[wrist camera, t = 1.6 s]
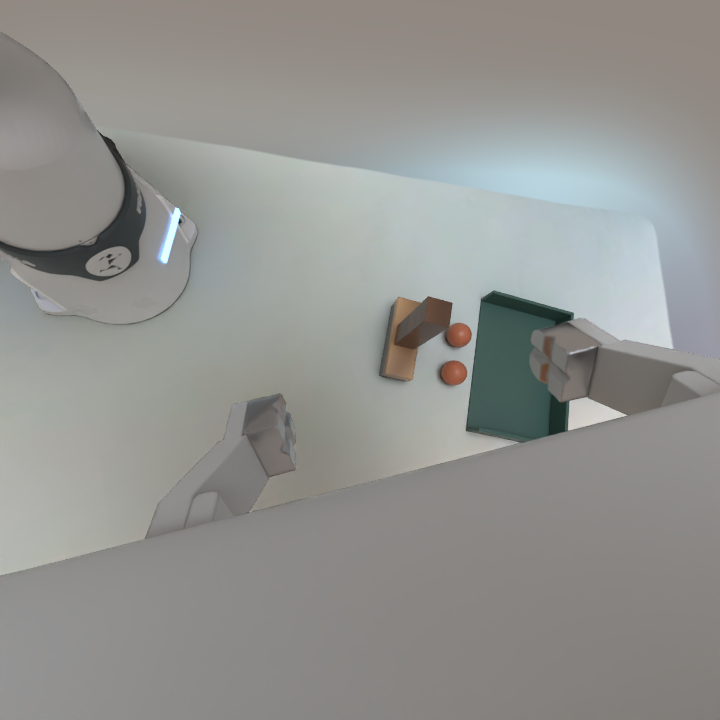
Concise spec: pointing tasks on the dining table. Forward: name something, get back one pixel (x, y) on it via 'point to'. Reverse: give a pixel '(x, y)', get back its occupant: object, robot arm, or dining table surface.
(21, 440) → the dining table surface
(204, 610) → the robot arm
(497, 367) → the dustpan
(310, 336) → the dining table surface
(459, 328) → the ball
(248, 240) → the dining table surface
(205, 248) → the dining table surface
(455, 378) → the ball
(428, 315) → the brush
